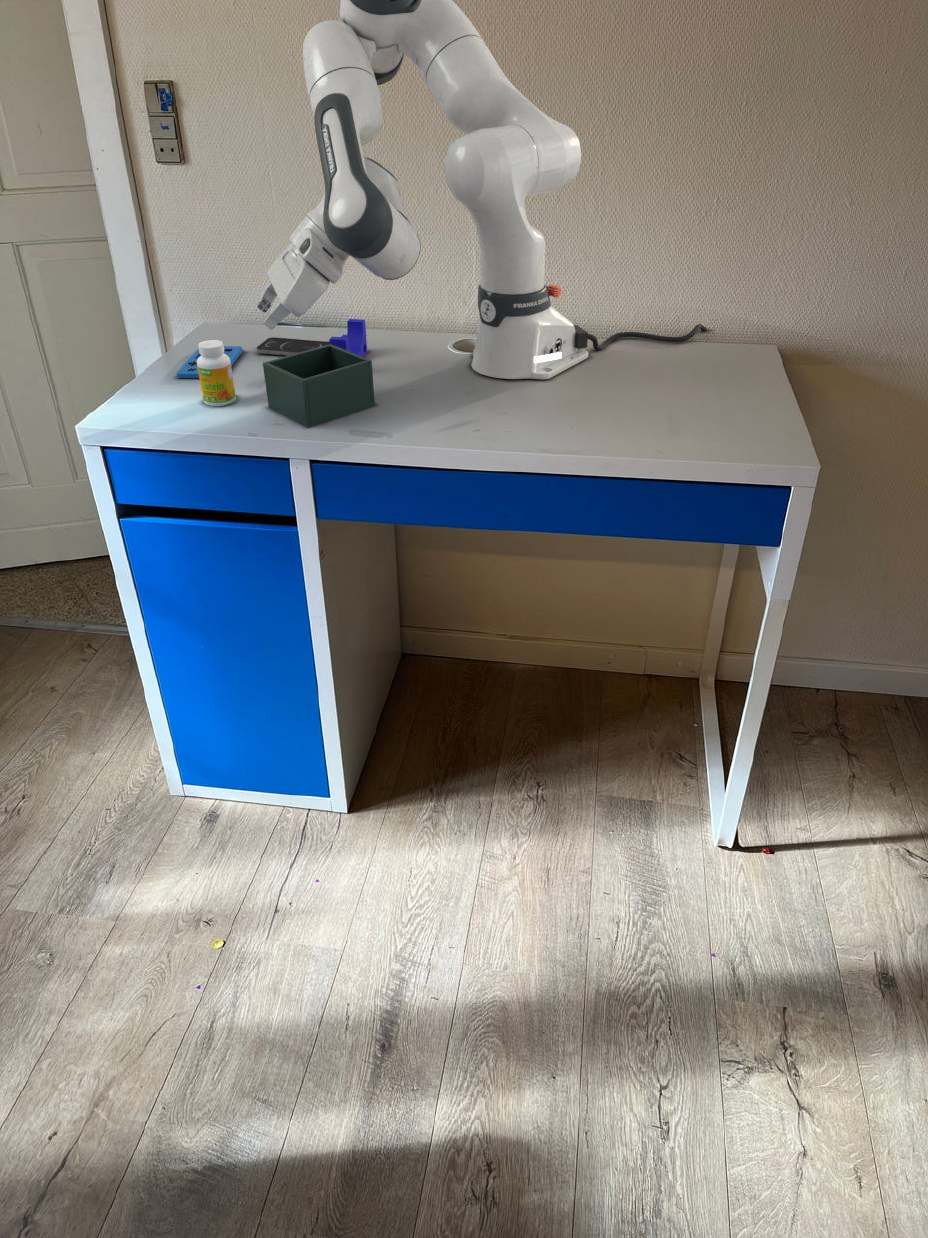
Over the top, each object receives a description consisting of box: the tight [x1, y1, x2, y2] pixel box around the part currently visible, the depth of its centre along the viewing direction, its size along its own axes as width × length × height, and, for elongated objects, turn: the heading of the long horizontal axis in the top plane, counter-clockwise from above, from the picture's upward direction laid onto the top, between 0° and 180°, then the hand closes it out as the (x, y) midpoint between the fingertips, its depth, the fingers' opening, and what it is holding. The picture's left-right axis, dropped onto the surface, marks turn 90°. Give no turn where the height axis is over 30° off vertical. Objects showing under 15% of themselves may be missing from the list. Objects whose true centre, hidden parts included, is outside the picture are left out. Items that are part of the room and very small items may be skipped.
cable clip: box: [328, 318, 368, 357], centre depth 171 cm, size 12×4×6 cm, turn 168°
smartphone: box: [255, 336, 330, 356], centre depth 177 cm, size 8×1×15 cm
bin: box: [262, 344, 376, 428], centre depth 152 cm, size 13×11×8 cm
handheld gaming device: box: [176, 345, 244, 379], centre depth 171 cm, size 8×1×15 cm
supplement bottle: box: [197, 339, 237, 407], centre depth 154 cm, size 5×5×10 cm
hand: (263, 317), depth 152 cm, fingers open, 8 cm apart
